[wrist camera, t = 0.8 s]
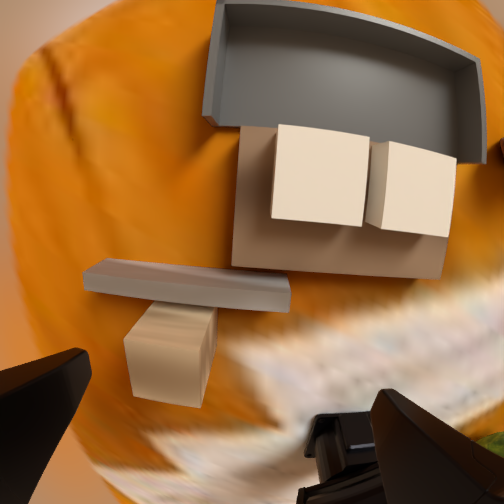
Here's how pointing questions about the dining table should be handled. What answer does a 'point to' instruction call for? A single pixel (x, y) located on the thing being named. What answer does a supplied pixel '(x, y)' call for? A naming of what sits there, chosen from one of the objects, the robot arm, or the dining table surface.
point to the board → (318, 229)
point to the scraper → (181, 319)
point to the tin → (502, 145)
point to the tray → (343, 77)
